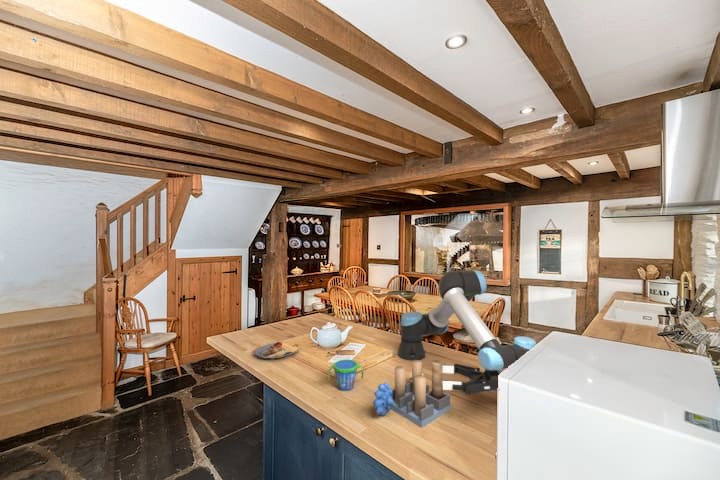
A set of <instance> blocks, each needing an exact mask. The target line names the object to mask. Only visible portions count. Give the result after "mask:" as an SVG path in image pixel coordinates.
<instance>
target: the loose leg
mask: <svg viewBox="0 0 720 480" xmlns="http://www.w3.org/2000/svg"><path fill="white" fill-rule="evenodd" d="M443 364H444V363H443V361H441V360H439V359H435V360H432V361H431V391H432V397H434V398H436V399H438V400H440V399H441V398H443V392H444V391H443V385H442V381H444V379H443V378H444V377H443V376H444V375H443V374H444V373H443V366H444V365H443Z"/></svg>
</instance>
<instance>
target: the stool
mask: <svg viewBox="0 0 720 480" xmlns="http://www.w3.org/2000/svg"><path fill="white" fill-rule="evenodd" d="M411 372H412V382H410V381H409V382H407V383H406V367H404V366H400V365H398V366H395V367H394V388H393V389H392V392H393V393H392V394H391V397H392V399H393V402H394V403H393V404H392V405H390V407H391V408H390V409H391V411H394V412H396V413H397V414H399V415H401V416H402V417H404V418H405V419H407V420H409V421H410V422H412V423H413V424H415V425H417V426H418V427H420V428H423V427H425V426H426V425H428V424H430V423H431V422H433V421H436V420H437V419H438V418H440V417H442V416H443V415H445V414H446V413H448V412H449V411H451V407H452V405H451V395H450V394H448V393H446V392H444V391H443V398H441V399H440V400H438V399H436V398H434V397H432V390H430V385H429V384H427V377H426V376H424V375H423V376H422V373H423V361H422V360H411Z"/></svg>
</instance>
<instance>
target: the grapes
mask: <svg viewBox="0 0 720 480" xmlns="http://www.w3.org/2000/svg"><path fill="white" fill-rule="evenodd" d="M377 388H378V389H377V390H375V392H374V393H373V394H374V397H375V399H374V400H373V406H374V407H375V409H374V411H375V412H376V414H377V415H380V416H382V417H383V416H386V414H387V413H388V412H389V411H390V409H391V407H390V405H392V404H393V403H394V402H393V399H392V397H391V394H392V393H393V392H392V390H393V389H392V388H391V387H390V384H389V383H388V382H384V383H380V384H379V385H378V386H377Z"/></svg>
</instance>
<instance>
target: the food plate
mask: <svg viewBox="0 0 720 480" xmlns="http://www.w3.org/2000/svg"><path fill="white" fill-rule="evenodd" d="M282 342H283V341H277V342H273V343H268V344H265V345H262V346H260V347H257V348H255V349H254V350H253V354H254V355H255V356H258V357H259V358H263V359H270V360H271V359H272V360H273V359H277V358H284V357H288V356H291V355H292V354H294V353H296V352H291V351H290V350H287V349H284V348H283V347H282ZM292 346H294V347H299V345H298V344H295V345H292Z"/></svg>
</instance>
